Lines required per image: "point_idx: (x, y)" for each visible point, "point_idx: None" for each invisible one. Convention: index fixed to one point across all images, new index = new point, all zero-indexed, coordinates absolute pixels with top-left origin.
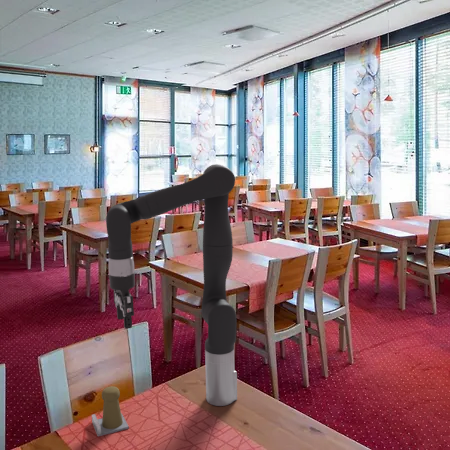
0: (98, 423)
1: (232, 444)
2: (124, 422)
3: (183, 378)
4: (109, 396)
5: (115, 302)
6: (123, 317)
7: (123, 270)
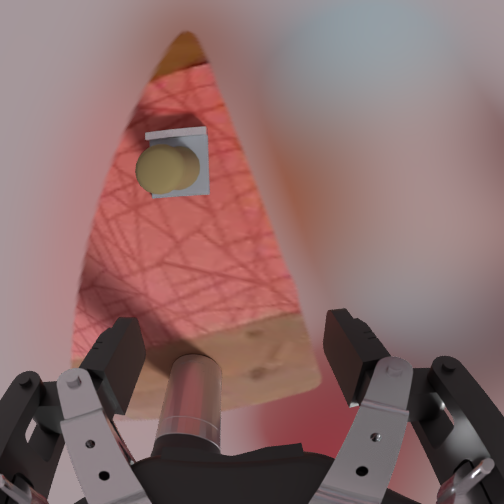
0: (162, 136)
1: (74, 335)
2: (170, 192)
3: (301, 343)
4: (136, 163)
5: (434, 374)
6: (326, 346)
7: None
